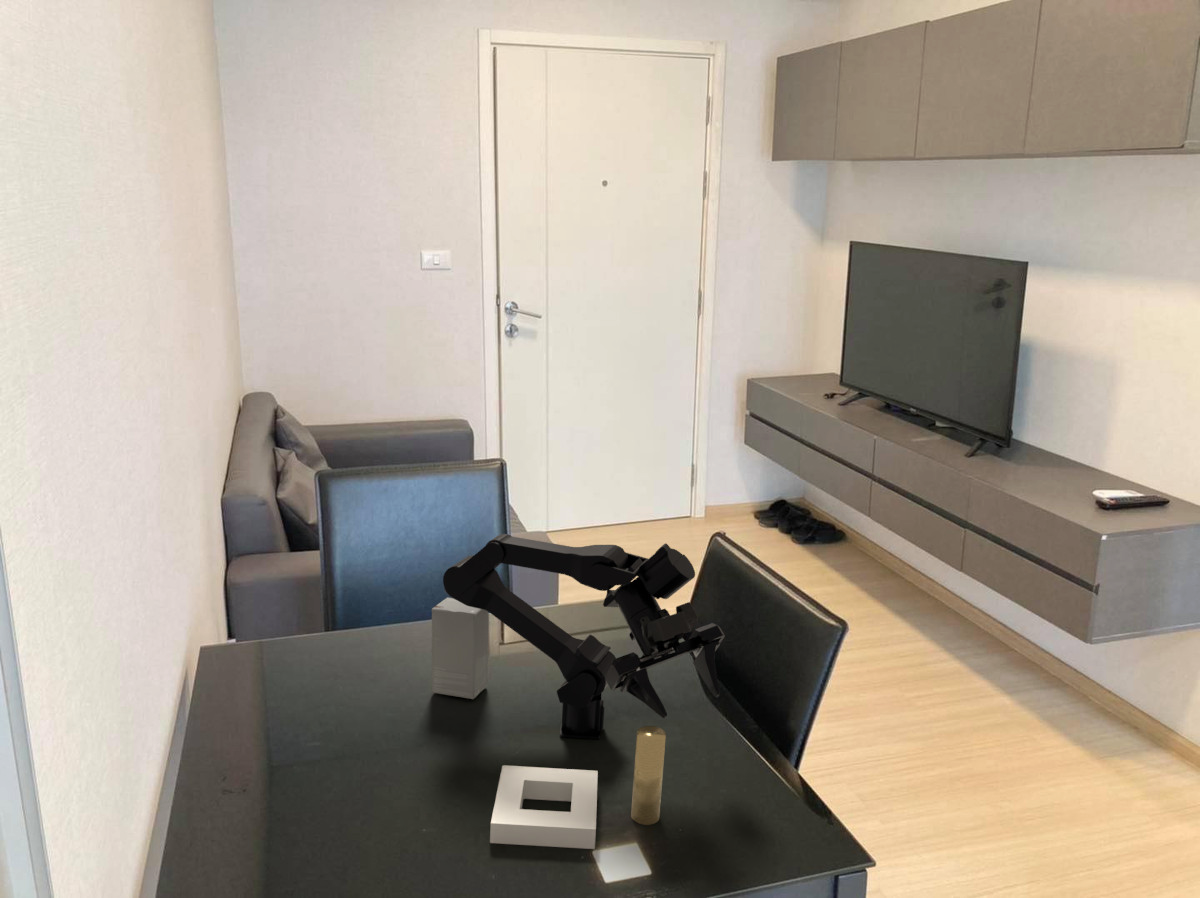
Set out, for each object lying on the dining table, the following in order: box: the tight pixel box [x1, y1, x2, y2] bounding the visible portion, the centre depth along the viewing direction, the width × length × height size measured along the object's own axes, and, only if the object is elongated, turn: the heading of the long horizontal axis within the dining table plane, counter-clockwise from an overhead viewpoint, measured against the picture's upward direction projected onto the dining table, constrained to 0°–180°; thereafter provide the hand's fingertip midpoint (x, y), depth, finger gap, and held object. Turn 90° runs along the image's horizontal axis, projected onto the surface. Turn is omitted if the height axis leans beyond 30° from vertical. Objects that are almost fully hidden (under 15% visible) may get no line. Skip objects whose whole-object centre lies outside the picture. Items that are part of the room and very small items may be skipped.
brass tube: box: [630, 725, 667, 826], centre depth 136 cm, size 4×4×13 cm
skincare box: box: [431, 597, 489, 700], centre depth 168 cm, size 8×7×16 cm
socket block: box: [489, 764, 599, 850], centre depth 136 cm, size 14×14×3 cm
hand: (692, 706), depth 143 cm, fingers open, 9 cm apart
